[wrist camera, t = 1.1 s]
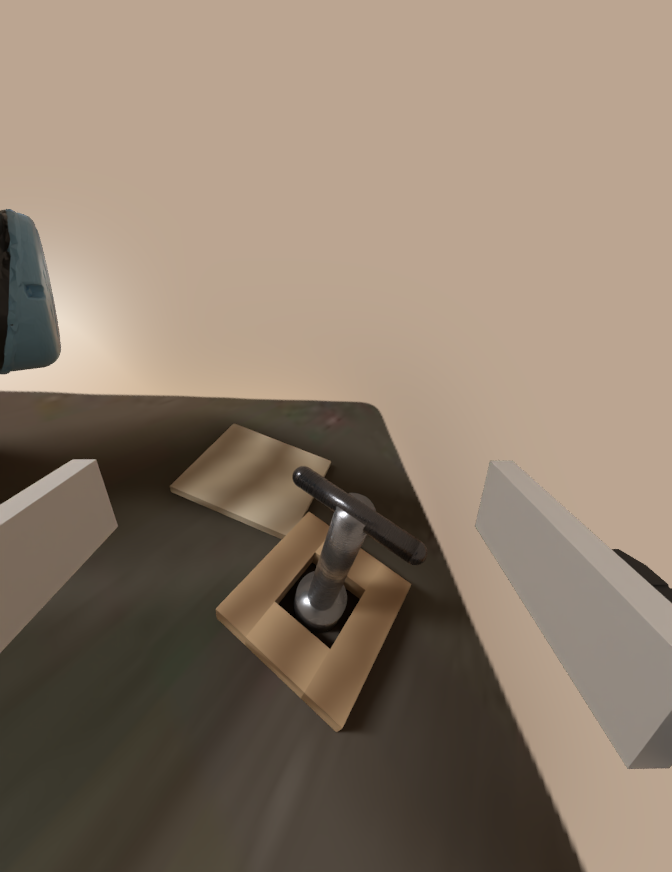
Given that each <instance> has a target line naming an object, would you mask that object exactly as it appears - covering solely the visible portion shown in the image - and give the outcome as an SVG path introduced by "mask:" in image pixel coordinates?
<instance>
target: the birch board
mask: <svg viewBox="0 0 672 872" xmlns="http://www.w3.org/2000/svg"><path fill="white" fill-rule="evenodd" d="M330 464H331V461H330V460H327V459H324V458H322V457H319V456H317V455H314V454H311V453H309V452H306V451H304V450H301V449H299V448H296V447H293V446H291V445H288V444H286V443H283V442H280V441H278V440H275V439H273V438H270V437H268V436H265V435H262V434H260V433H257V432H255V431H252V430H250V429H247V428H244V427H242V426H239V425H237V424H233V425H232V426H231V427H230V428H229V429H228V430H227V431H226V432H224V433H223V434H222V435H221V436H220V437H219V438H218V439H217V440H216V441H215V442H214V443H213V444H212V445H211V446H210V447H209V448H208V449H207V450H206V451H205V452H204V453H203V454H202V455H201V456H200V457H199V458H198V459H197V460H196V461H195V462H194V463H193V464H192V465H191V466H190V467H189V468H188V469H187V470H186V471H185V472H184V473H183V474H182V475H181V476H180V477H179V478H178V479H177V480H175V481H174V482H173V483H172V484H171V485H170V489H171V492H172V493H175V494H177V495H179V496H182V497H184V498H186V499H189V500H191V501H193V502H196V503H198V504H200V505H203V506H205V507H207V508H210V509H212V510H214V511H217V512H219V513H221V514H224V515H226V516H228V517H231V518H233V519H235V520H238V521H240V522H242V523H245V524H247V525H249V526H252V527H254V528H256V529H259V530H261V531H263V532H266V533H268V534H270V535H273V536H275V537H277V538H280V539H283V538H284V537H285V536H286V535H287V534H288V533H289V532H290V531H291V530H292V529H293V528H294V526H295V525H296V524H297V523H298V522H299V521H300V520H301V519H302V518H303V517H304V516H305V514H306V512H307V510H308V509H309V507H310V505H311V503H312V501H313V499H314V497H312V496H311V495H309V494H308V493H306V492H305V491H303V490H302V489H300V488H299V487H298V486H296V485H295V484H294V482H293V479H292V475H293V472H294V470H295V469H296V468H298V467H300V466H307V467H309V468H310V469H312V470H313V471H315V472H317V473H318V474H320V475H321V476H323V477H325V475H326V473H327V471H328V469H329V467H330Z"/></svg>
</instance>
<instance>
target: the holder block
mask: <svg viewBox="0 0 672 872" xmlns="http://www.w3.org/2000/svg"><path fill="white" fill-rule="evenodd" d="M328 530H329V525H327V524H326V523H324V522H323V521H322V520H320V519H319V518H317V517H316V516H315V515H313V514H312V513H310V512H308V513H307V514H306V515H305V516H304V517H303V518H302V519H301V520H300V521H299V522H298V523H297V524H296V525H295V526H294V528H293V529H292V530H291V531H290V532H289V533H288V534H287V535H286V536H285V537H284V538H283V539H282V540H281V541H280V542H279V543H278V544H277V545H276V546H275V547H274V548H273V549H272V550H271V552H270V553H269V554H268V555H267V556H266V557H265V558H264V559H263V560H262V561H261V562H260V563H259V564H258V565H257V566H256V567H255V568H254V569H253V570H252V571H251V572H250V573H249V575H248V576H247V577H246V578H245V579H244V580H243V581H242V582H241V583H240V584H239V585H238V586H237V587H236V588H235V589H234V590H233V591H232V592H231V593H230V594H229V595H228V596H227V598H226V599H225V600H224V601H223V602H222V603H221V604H220V605H219V606H218V607H217V608H216V615H217V619H218V620H219V621H220V622H221V623H222V624H223V625H224V626H225V627H227V628H228V629H229V630H230V631H231V632H232V633H233V634H234V635H235V636H236V637H237V638H238V639H239V640H240V641H241V642H242V643H243V644H244V645H245V646H246V647H248V648H249V649H250V650H251V651H252V652H253V653H254V654H255V655H256V656H257V657H258V658H259V659H260V660H261V661H262V662H263V663H264V664H265V665H266V666H267V667H268V668H270V669H271V670H272V671H273V672H274V673H275V674H276V675H277V676H278V677H279V678H280V679H281V680H282V681H283V682H284V683H285V684H286V685H287V686H288V687H289V688H291V689H292V690H293V691H294V692H295V693H296V694H297V695H298V696H299V697H300V698H301V699H302V700H303V701H304V702H305V703H306V704H307V705H308V706H309V707H310V708H311V709H313V710H314V711H315V712H316V713H317V714H318V715H319V716H320V717H321V718H322V719H323V720H324V721H325V722H326V723H327V724H328V725H329V726H330V727H331V728H332V729H333V730H335V731H336V732H338V731H339V730H341V729H342V728H343V726H344V724H345V722H346V720H347V718H348V716H349V713H350V711H351V709H352V707H353V705H354V703H355V701H356V699H357V697H358V695H359V693H360V691H361V688H362V686H363V684H364V682H365V680H366V678H367V676H368V674H369V672H370V670H371V668H372V666H373V663H374V661H375V659H376V657H377V655H378V653H379V651H380V649H381V647H382V645H383V643H384V641H385V638H386V636H387V634H388V632H389V630H390V628H391V626H392V624H393V622H394V620H395V618H396V616H397V613H398V611H399V609H400V607H401V605H402V603H403V601H404V599H405V597H406V595H407V593H408V590H409V588H410V586H411V584H410V583H409V582H407V581H406V580H405V579H403V578H402V577H400V576H399V575H398V574H396V573H395V572H393V571H392V570H391V569H389V568H388V567H386V566H385V565H384V564H382V563H381V562H379V561H378V560H376V559H375V558H374V557H372V556H371V555H369V554H368V553H367V552H365V551H364V550H362V549H361V548H360V550H359V552H358V554H357V556H356V559H355V561H354V563H353V565H352V567H351V569H350V571H349V573H348V575H347V577H346V580H345V582H344V584H343V585H344V587H345V588H346V589H347V590H349V591H350V592H351V593H353V594H354V595H355V596H356V597H358V598H359V599H360V600H359V602H358V604H357V605H356V607H355V609H354V610H353V612H352V614H351V615H350V617H349V619H348V620H347V622H346V624H345V625H344V627H343V629H342V630H341V632H340V634H339V635H338V637H337V639H336V640H335V642H334V644H333V645H332V647H331V649H329V648H328V647H327V646H326V645H325V644H324V643H322V642H321V641H320V640H319V639H318V638H317V637H315V636H314V635H313V634H312V633H311V632H310V631H308V630H307V629H306V628H305V627H304V626H303V625H301V624H300V623H299V622H298V621H297V620H296V619H294V618H293V617H292V616H291V615H290V614H289V613H287V612H286V611H285V610H284V609H283V608H282V607H281V606H279V605H278V604H279V603H280V602H281V600H282V599H283V598H284V597H285V595H286V594H287V593H288V592H289V590H290V589H291V588H292V587H293V585H294V584H295V583H296V582H297V580H298V579H299V578H300V577H301V575H302V574H303V573H304V572H305V570H306V569H307V568H308V567H309V566H310V564H311V563H314V564H315V565H316V566H317V563H318V560H319V557H320V554H321V551H322V548H323V545H324V542H325V539H326V536H327V533H328Z"/></svg>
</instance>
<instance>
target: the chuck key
mask: <svg viewBox="0 0 672 872" xmlns="http://www.w3.org/2000/svg"><path fill="white" fill-rule="evenodd" d="M292 479H293V482H294V484H295V485H296V486H298V487H299V488H300V489H302V490H303V491H305V492H306V493H308V494H309V495H311V496H312V497H314V498H315V499H316V500H318V501H319V502H321V503H322V504H324V505H325V506H327V507H328V508H329V509H331V510H332V511H334V514H333V517H332V520H331V523H330V526H329V530H328V533H327V536H326V539H325V542H324V545H323V548H322V551H321V554H320V557H319V560H318V563H317V566H316V570H315V571H313V572H310V573H309V574H307V575H306V576H304V577H303V578H302V580H301V581H300V583H299V585H298V587H297V590H296V594H295V598H294V604H293V607H294V613H295V616H296V619H297V620H298V622H299V623H300V624H301V625H303V626H304V627H305V628H306V629H307V630H309V631H311V632H316V633H321V632H326V631H328V630H330V629H332V628H333V627H334V626H335V625H336V624H337V623H338V621H339V619H340V618H341V616H342V614H343V612H344V610H345V608H346V604H347V593H346V589H345V587H344V585H343V584H344V582H345V580H346V577H347V575H348V573H349V571H350V569H351V567H352V565H353V563H354V561H355V559H356V556H357V554H358V552H359V550H360V548H361V546H362V544H363V542H364V540H365V538H366V535H369V536H370V537H372V538H373V539H374V540H376V541H377V542H379V543H380V544H382V545H383V546H385V547H386V548H387V549H389V550H390V551H392V552H393V553H395V554H396V555H398V556H399V557H401V558H402V559H403V560H405V561H406V562H408V563H410V564H412V565H419V564H421V563H423V562H424V561H425V559H426V557H427V548H426V546H425V545H424V543H423V542H421V541H420V540H419V539H417V538H416V537H414V536H413V535H411V534H410V533H408V532H406V531H405V530H403V529H402V528H400V527H399V526H397V525H396V524H394V523H393V522H391V521H390V520H388V519H387V518H385V517H384V516H382V515H381V514H379V513H378V512H376V510H375V507H374V505H373V503H372V502H371V501H370V500H369V499H368V498H367V497H365V496H364V495H361V494H358V493H347V492H345V491H344V490H342V489H341V488H339V487H338V486H336V485H335V484H333V483H332V482H330V481H329V480H327V479H326V478H324V477H323V476H321V475H320V474H318V473H317V472H315V471H313V470H312V469H310V468H309V467H307V466H300V467H298V468H296V469H295V470H294V472H293V475H292Z"/></svg>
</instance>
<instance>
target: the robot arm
mask: <svg viewBox="0 0 672 872" xmlns="http://www.w3.org/2000/svg"><path fill="white" fill-rule="evenodd" d="M60 352H61V344H60V335H59V328H58V321H57V315H56V310H55V304H54V299H53V294H52V289H51V284H50V279H49V275H48V270H47V266H46V261H45V257H44V252H43V248H42V245H41V241H40V237H39V234H38V231H37V229H36V227H35V224H34V222H33V220H31V219H30V218H29V217H28V216H26V215H24V214H20V213H16V212H15V211H13V210H11V209H6V210H1V211H0V374H7V373H9V372H10V371H18V370H25V369H33V368H41V367H46V366H49V365H50V364H52V363H54V362H55V361H56V360H57V359H58V357H59V355H60ZM117 527H118V525H117V522H116V519H115V515H114V512H113V509H112V506H111V503H110V500H109V497H108V494H107V491H106V488H105V485H104V482H103V479H102V476H101V473H100V470H99V466H98V463H97V460H96V459H72V460H71V461H69V462H68V463H66V464H64V465H63V466H61V467H60V468H58V469H56V470H55V471H53V472H52V473H50V474H48V475H47V476H45V477H44V478H42V479H40V480H39V481H37V482H36V483H34V484H32V485H31V486H29V487H28V488H26V489H24V490H23V491H21V492H20V493H18V494H16V495H15V496H13V497H12V498H10V499H8V500H7V501H5V502H4V503H2V504H0V652H1V651H2V650H3V649H4V648H5V647H6V646H7V645H8V644H9V643H10V642H11V641H12V640H13V639H14V637H15V636H16V635H17V634H18V633H19V632H20V631H21V630H22V629H23V628H24V627H25V626H26V625H27V624H28V622H29V621H30V620H31V619H32V618H33V617H34V616H35V615H36V614H37V613H38V612H39V611H40V610H41V609H42V607H43V606H44V605H45V604H46V603H47V602H48V601H49V600H50V599H51V598H52V597H53V596H54V595H55V594H56V592H57V591H58V590H59V589H60V588H61V587H62V586H63V585H64V584H65V583H66V582H67V581H68V580H69V579H70V577H71V576H72V575H73V574H74V573H75V572H76V571H77V570H78V569H79V568H80V567H81V566H82V565H83V564H84V562H85V561H86V560H87V559H88V558H89V557H90V556H91V555H92V554H93V553H94V552H95V551H96V550H97V549H98V547H99V546H100V545H101V544H102V543H103V542H104V541H105V540H106V539H107V538H108V537H109V536H110V535H111V534H112V532H113V531H114V530H115V529H116V528H117ZM475 527H476V529H477V530H478V532H479V533H480V535H481V537H482V538H483V540H484V541H485V543H486V544H487V546H488V548H489V549H490V551H491V553H492V554H493V555H494V557H495V559H496V560H497V562H498V563H499V565H500V567H501V568H502V570H503V572H504V573H505V575H506V576H507V578H508V580H509V581H510V583H511V584H512V586H513V587H514V589H515V591H516V592H517V594H518V595H519V597H520V598H521V600H522V602H523V603H524V605H525V607H526V608H527V610H528V611H529V613H530V614H531V616H532V618H533V619H534V620H535V622H536V624H537V626H538V627H539V629H540V630H541V632H542V633H543V635H544V637H545V638H546V640H547V641H548V643H549V645H550V646H551V648H552V649H553V651H554V653H555V654H556V656H557V657H558V659H559V661H560V662H561V664H562V665H563V667H564V668H565V670H566V672H567V673H568V675H569V676H570V678H571V679H572V681H573V683H574V684H575V686H576V687H577V689H578V691H579V692H580V694H581V695H582V697H583V699H584V700H585V702H586V703H587V705H588V707H589V708H590V710H591V711H592V713H593V715H594V716H595V718H596V719H597V721H598V722H599V724H600V726H601V727H602V729H603V730H604V732H605V734H606V735H607V737H608V738H609V740H610V741H611V743H612V745H613V746H614V748H615V749H616V751H617V753H618V754H619V756H620V757H621V759H622V760H623V762H624V764H625V765H626V767H627V768H628V769H639V768H640V769H642V768H643V769H644V768H670V767H671V766H672V589H670V588H669V587H668V584H667V583H666V582H665V581H664V580H662V579H661V578H660V577H659V576H658V575H656V574H655V573H654V572H653V571H652V570H650V569H649V568H648V567H647V566H646V565H644V564H643V563H641V562H639V561H638V560H636V559H634V558H633V557H631V556H629V555H627V554H626V553H624V552H622V551H621V550H619V549H611V548H609V547H608V546H607V545H606V544H605V543H604V542H603V541H602V540H600V539H599V538H598V537H597V536H596V535H595V534H593V532H591V531H590V530H589V529H588V528H587V527H586V526H585V525H584V524H583V523H581V522H580V521H579V520H578V519H577V518H576V517H575V516H574V515H573V514H572V513H570V512H569V511H568V510H567V509H566V508H565V507H564V506H563V505H561V504H560V503H559V502H558V501H557V500H556V499H555V498H554V497H553V496H551V495H550V494H549V493H548V492H547V491H546V490H545V489H543V487H541V486H540V485H539V484H538V483H537V482H536V481H535V480H534V479H532V478H531V477H530V476H529V475H528V474H527V473H526V472H525V471H524V470H522V469H521V468H520V467H519V466H518V465H517V464H516V463H515V462H513V461H490V463H489V467H488V472H487V476H486V481H485V485H484V490H483V493H482V498H481V502H480V506H479V511H478V515H477V520H476V524H475Z"/></svg>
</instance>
